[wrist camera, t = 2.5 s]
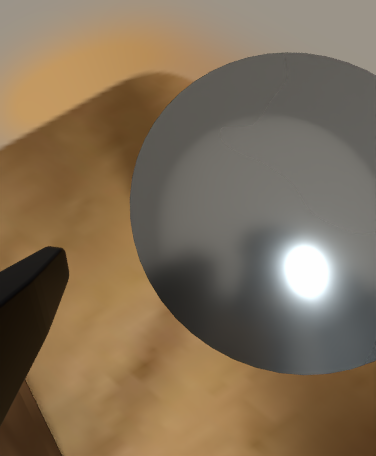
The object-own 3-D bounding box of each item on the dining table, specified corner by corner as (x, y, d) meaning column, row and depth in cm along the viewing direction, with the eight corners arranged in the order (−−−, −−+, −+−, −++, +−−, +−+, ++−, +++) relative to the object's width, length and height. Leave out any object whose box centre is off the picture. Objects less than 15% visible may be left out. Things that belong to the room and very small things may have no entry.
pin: (266, 305, 16) (510, 351, 4) (185, 314, 16) (145, 396, 4) (253, 226, 17) (418, 34, 4) (176, 235, 17) (117, 72, 4)
